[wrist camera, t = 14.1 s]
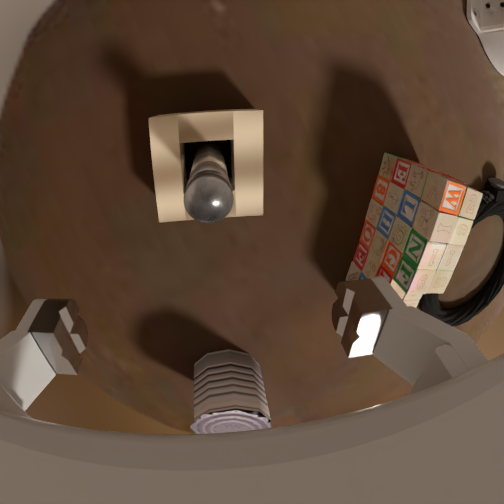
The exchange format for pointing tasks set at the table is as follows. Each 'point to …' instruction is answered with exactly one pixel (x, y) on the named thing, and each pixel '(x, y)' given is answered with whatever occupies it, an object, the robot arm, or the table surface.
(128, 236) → the table surface
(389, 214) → the stack of blocks
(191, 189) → the silver metal rod
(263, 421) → the can
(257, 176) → the light wooden square frame
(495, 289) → the cable lock
